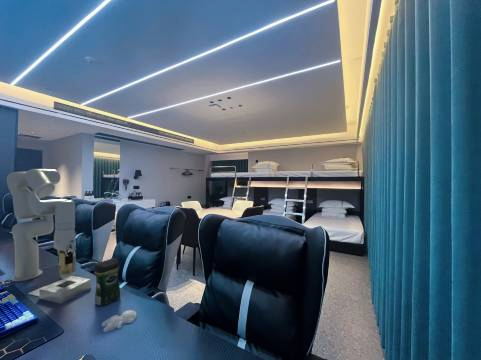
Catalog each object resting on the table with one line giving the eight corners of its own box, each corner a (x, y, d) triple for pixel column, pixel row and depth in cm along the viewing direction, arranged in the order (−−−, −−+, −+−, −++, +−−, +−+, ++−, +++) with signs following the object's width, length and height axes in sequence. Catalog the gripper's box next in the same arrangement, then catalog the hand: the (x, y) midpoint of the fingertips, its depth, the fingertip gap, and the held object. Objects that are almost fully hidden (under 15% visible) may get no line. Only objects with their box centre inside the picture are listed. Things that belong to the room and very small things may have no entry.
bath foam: (59, 280, 117) (58, 244, 116) (61, 275, 122) (60, 241, 122) (75, 277, 120) (74, 242, 120) (76, 272, 126) (75, 239, 126)
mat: (28, 294, 103) (28, 293, 103) (47, 285, 111) (47, 285, 111) (39, 296, 101) (39, 295, 101) (57, 288, 108) (57, 287, 108)
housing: (39, 298, 99) (39, 289, 99) (71, 284, 112) (70, 275, 112) (60, 303, 95) (60, 293, 95) (90, 288, 108) (90, 279, 108)
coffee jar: (114, 293, 104) (114, 255, 103) (122, 298, 99) (122, 258, 99) (91, 302, 96) (91, 262, 95) (99, 308, 91) (99, 266, 91)
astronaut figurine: (100, 323, 83) (100, 315, 83) (134, 310, 90) (134, 303, 90) (103, 335, 76) (103, 327, 76) (139, 321, 84) (139, 314, 84)
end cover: (56, 273, 102) (56, 253, 102) (68, 269, 107) (68, 249, 107) (62, 275, 101) (62, 254, 100) (74, 271, 105) (74, 251, 105)
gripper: (46, 225, 103) (46, 262, 104) (66, 229, 96) (67, 269, 97) (63, 222, 110) (64, 257, 110) (84, 226, 103) (84, 262, 104)
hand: (65, 262), depth 104 cm, fingers closed on end cover, 5 cm apart
